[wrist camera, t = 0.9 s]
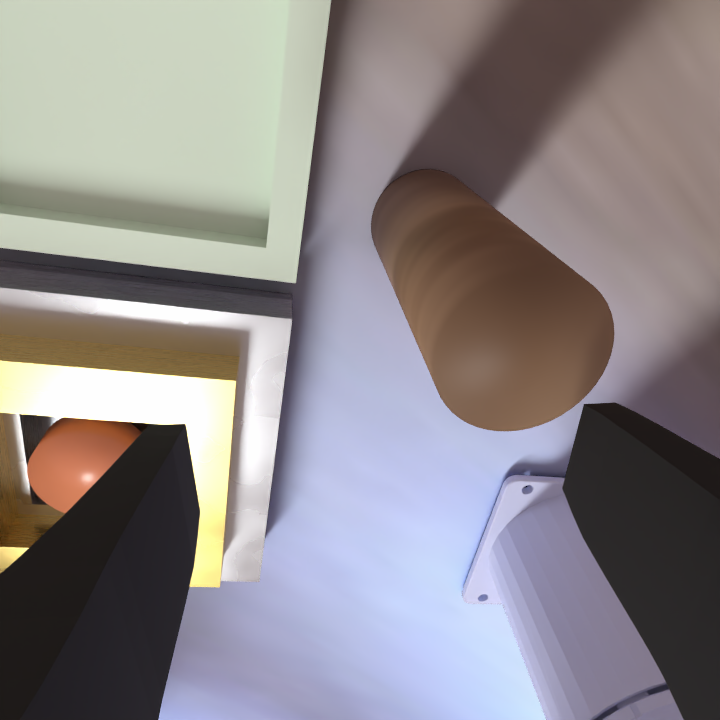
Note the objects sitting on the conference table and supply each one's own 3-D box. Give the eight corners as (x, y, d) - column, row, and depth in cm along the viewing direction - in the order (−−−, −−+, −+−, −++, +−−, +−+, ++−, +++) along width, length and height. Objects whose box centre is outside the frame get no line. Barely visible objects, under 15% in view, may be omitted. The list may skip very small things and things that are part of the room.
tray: (341, -114, 14) (347, -131, 12) (295, 266, 18) (295, 283, 17) (-114, -229, 12) (-163, -263, 11) (-38, 224, 17) (-65, 239, 15)
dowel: (488, 178, 18) (643, 281, 10) (460, 280, 19) (575, 437, 12) (382, 161, 17) (460, 256, 9) (362, 267, 19) (414, 424, 11)
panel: (292, 294, 19) (292, 341, 16) (261, 544, 25) (257, 614, 22) (-105, 248, 17) (-192, 292, 14) (-39, 533, 22) (-91, 609, 19)
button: (152, 416, 19) (144, 437, 18) (153, 496, 20) (145, 520, 19) (36, 407, 18) (20, 429, 17) (46, 491, 20) (33, 516, 19)
